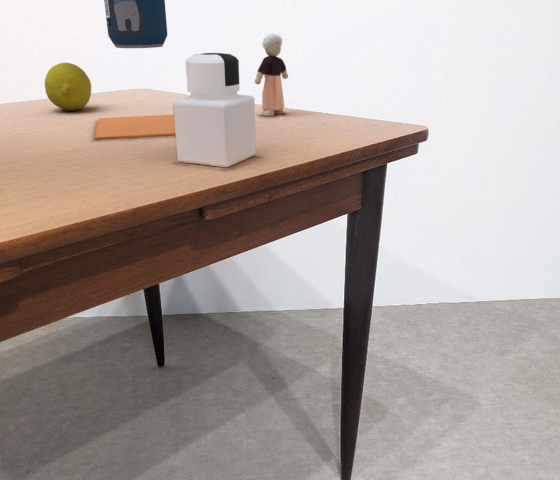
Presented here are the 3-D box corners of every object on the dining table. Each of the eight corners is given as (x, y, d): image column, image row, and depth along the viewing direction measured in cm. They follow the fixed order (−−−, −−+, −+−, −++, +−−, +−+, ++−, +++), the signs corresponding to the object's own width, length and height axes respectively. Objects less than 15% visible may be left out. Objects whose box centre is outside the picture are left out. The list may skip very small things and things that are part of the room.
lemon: (92, 113, 104) (85, 64, 101) (44, 115, 103) (36, 66, 99) (96, 104, 114) (90, 59, 110) (53, 106, 112) (46, 60, 109)
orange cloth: (95, 139, 85) (94, 137, 85) (98, 119, 99) (98, 118, 99) (249, 131, 89) (249, 129, 89) (231, 113, 103) (231, 111, 103)
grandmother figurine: (272, 117, 99) (271, 34, 94) (252, 116, 101) (250, 34, 95) (294, 111, 105) (294, 32, 100) (275, 109, 107) (274, 32, 101)
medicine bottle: (208, 150, 78) (202, 50, 73) (256, 155, 75) (254, 52, 70) (176, 162, 72) (167, 55, 67) (227, 168, 69) (222, 57, 64)
